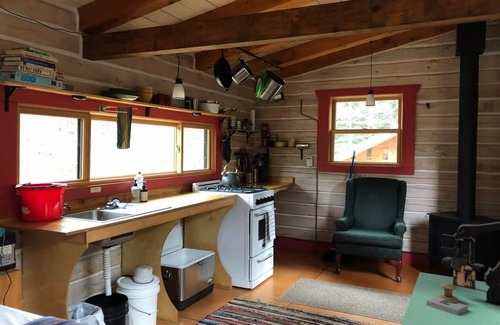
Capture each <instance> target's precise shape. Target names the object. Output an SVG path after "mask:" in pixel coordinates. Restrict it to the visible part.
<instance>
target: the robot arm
mask: <svg viewBox="0 0 500 325" xmlns="http://www.w3.org/2000/svg"><path fill="white" fill-rule="evenodd" d="M497 231H498V232H499V231H500V221H496V222H488V223H481V224H471V223H462V224H461V225H459V226H458V230H457V231H456V232H455V233H454V234H453V235H452V234H451V235H450V234H447V233H443V234H441V240H440V241H441V242H440V244H441V245H440V248H443V249H450V250H451V249H452V250H454V249H455V248H456V247H457V249H456V250H457V251H455V255H454V256H453V257H451V256H447V257H446V256H445V257H443V258H442V259H441V264H444V265H449V264H450V265H449V266H450V268H452V269H453V271H454V270H455V273H456V276H457V278H458V272H461V269H462V266H464V272H466V273H465V282H467V281H468V279H469V277H470V275H471V274H472V272H473V271H475V273H482V272H484V282H485V284H486V286H487V290H486V298H485V299H486V300H485V302H487V303H490V304H492V305H498V306H500V261H499V262H498V263H497V264H496V265H495V267H493V268H492V267H490V266H489V267H488V269H487V271H486V266H485V264H481V263H478V262H475V263H472V260H471V255H472V252H471V247H472V246H471V243H473V244H475V242H476V240H475V239H474V238H473V237H474V236H476V235H477V234H483V233H489V232H490V233H491V232H497ZM472 236H473V237H472ZM465 267H467V269H465ZM485 271H486V272H485Z"/></svg>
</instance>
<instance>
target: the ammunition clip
mask: <svg viewBox="0 0 500 325" xmlns="http://www.w3.org/2000/svg"><path fill="white" fill-rule="evenodd" d="M465 269H467V267H465V266H462V267H461V271H463V272H465ZM452 285H453V286H456V287H459V288H465V289H469V290H476V271H473V272H472V274H471V275H470V277H469V279H468V281H467V285H465V286H461V285H457V276H456V273H455V270H454V269H453V278H452Z"/></svg>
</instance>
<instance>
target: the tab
mask: <svg viewBox="0 0 500 325" xmlns="http://www.w3.org/2000/svg"><path fill="white" fill-rule="evenodd" d="M465 273H466V272H465V271H464V272H463V271H461V272H458V278H457V285H461V286H465V285H468V284H467V282H465Z"/></svg>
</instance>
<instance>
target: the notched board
mask: <svg viewBox="0 0 500 325" xmlns="http://www.w3.org/2000/svg"><path fill="white" fill-rule="evenodd" d="M426 306H429V307H432V308H435V309H438V310H440V311H444V312H447V313H449V314H453V315H456V316H458V315H460V314H462V313H465V312H467V311H468V310H469V308H468V307H469V306H468V305H466V304H463V303H460V302H457V303H454V304H453V305H449V304H447V302H446V299H444V298H441V297H438V296H436V297H433V298H430V299H427V300H426Z"/></svg>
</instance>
